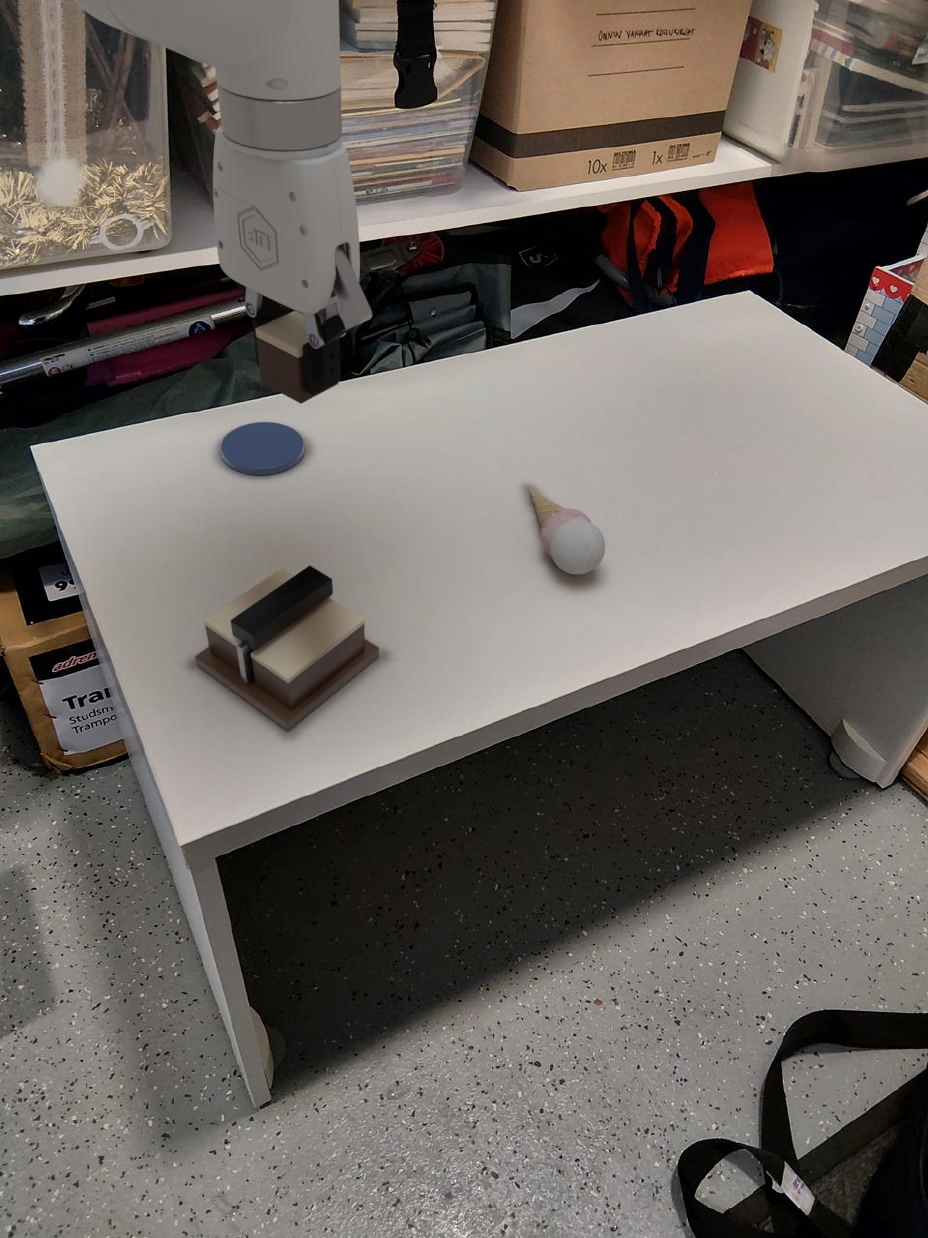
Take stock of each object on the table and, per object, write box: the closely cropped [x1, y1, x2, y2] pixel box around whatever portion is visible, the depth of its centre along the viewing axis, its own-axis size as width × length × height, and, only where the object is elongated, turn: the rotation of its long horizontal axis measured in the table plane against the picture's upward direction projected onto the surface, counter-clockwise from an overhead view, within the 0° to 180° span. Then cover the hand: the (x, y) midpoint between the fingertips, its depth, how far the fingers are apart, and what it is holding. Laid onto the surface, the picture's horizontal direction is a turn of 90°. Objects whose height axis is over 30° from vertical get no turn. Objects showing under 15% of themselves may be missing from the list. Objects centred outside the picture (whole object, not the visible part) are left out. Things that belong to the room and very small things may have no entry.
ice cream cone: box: [528, 488, 606, 575], centre depth 85 cm, size 5×5×15 cm
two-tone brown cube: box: [256, 310, 339, 405], centre depth 71 cm, size 4×4×4 cm
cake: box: [194, 567, 380, 732], centre depth 72 cm, size 10×10×4 cm
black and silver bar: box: [231, 564, 334, 685], centre depth 70 cm, size 9×2×6 cm, turn 142°
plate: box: [220, 421, 305, 476], centre depth 92 cm, size 8×8×1 cm
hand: (298, 372), depth 71 cm, fingers closed on two-tone brown cube, 4 cm apart
